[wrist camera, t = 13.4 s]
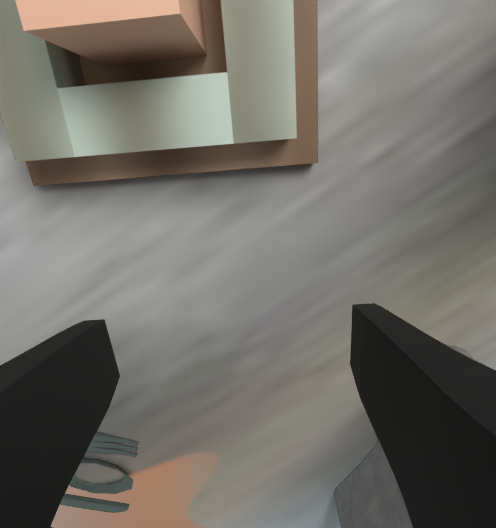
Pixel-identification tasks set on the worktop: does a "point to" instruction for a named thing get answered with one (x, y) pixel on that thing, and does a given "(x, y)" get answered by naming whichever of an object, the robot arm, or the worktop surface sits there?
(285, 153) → the notched board
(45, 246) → the worktop surface
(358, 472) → the hip flask
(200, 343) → the worktop surface
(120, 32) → the block
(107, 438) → the cutlery set
